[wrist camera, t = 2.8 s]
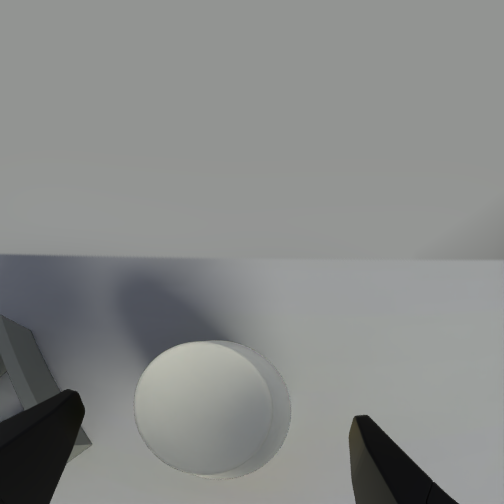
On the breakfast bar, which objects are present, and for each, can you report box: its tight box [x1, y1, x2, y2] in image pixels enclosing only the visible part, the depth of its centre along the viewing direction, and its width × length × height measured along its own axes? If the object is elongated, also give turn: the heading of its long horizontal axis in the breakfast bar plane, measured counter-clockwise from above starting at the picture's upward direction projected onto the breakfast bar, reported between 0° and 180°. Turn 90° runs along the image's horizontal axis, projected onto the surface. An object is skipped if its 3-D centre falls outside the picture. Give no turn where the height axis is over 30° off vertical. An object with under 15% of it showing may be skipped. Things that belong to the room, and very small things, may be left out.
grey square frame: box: [0, 315, 92, 463], centre depth 14 cm, size 10×10×4 cm
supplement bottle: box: [134, 340, 291, 480], centre depth 12 cm, size 5×5×10 cm
